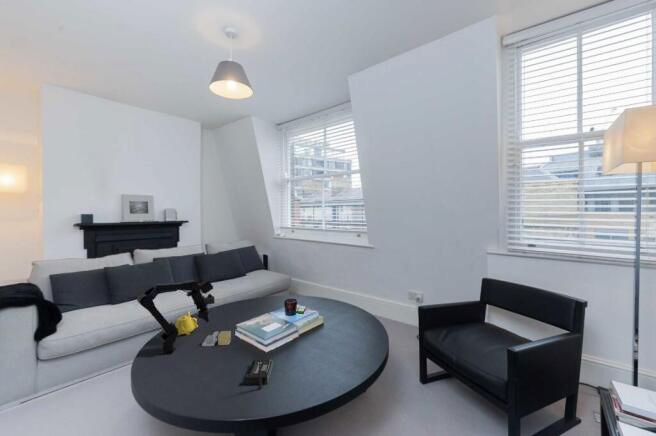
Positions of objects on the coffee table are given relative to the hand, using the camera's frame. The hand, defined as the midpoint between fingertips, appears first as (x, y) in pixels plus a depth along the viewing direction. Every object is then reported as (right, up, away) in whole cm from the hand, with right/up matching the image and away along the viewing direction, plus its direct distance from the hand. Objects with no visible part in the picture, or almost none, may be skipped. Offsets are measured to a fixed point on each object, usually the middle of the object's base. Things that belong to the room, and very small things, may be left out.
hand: (207, 318), depth 182 cm
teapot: (-18, -13, +9) cm, 24 cm away
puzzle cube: (+56, -12, +24) cm, 62 cm away
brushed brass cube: (+13, -13, -6) cm, 20 cm away
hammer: (+4, -13, -2) cm, 14 cm away
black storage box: (+43, -15, -41) cm, 62 cm away
